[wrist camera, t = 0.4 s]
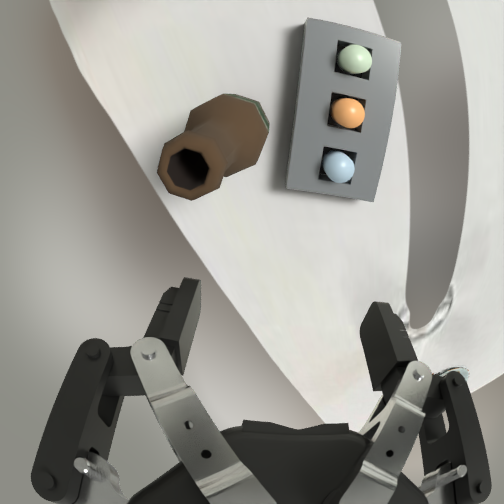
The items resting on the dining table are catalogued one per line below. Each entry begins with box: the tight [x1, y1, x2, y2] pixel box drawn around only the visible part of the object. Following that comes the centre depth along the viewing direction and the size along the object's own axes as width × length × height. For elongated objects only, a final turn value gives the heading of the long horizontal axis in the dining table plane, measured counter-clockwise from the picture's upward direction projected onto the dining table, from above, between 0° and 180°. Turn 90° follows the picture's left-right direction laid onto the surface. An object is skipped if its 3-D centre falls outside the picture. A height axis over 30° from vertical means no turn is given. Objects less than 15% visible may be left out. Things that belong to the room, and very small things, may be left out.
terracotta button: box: [330, 98, 365, 128], centre depth 29 cm, size 4×4×3 cm
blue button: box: [322, 150, 355, 183], centre depth 33 cm, size 4×4×3 cm
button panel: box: [285, 18, 401, 202], centre depth 30 cm, size 22×12×3 cm, turn 175°
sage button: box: [337, 45, 372, 74], centre depth 25 cm, size 4×4×3 cm
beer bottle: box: [157, 94, 269, 201], centre depth 23 cm, size 8×8×24 cm
